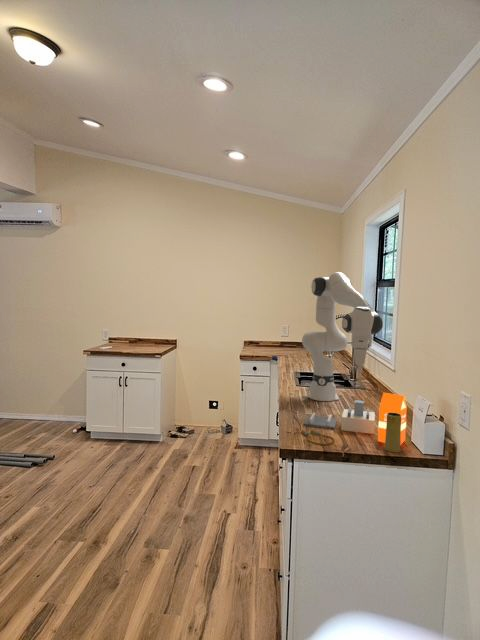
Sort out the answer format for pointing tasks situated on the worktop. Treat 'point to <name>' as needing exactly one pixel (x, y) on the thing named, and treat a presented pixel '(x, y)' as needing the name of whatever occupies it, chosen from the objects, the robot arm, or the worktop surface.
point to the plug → (358, 408)
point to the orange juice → (391, 405)
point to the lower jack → (320, 421)
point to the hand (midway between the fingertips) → (360, 372)
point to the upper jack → (358, 421)
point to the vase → (393, 432)
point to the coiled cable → (316, 434)
